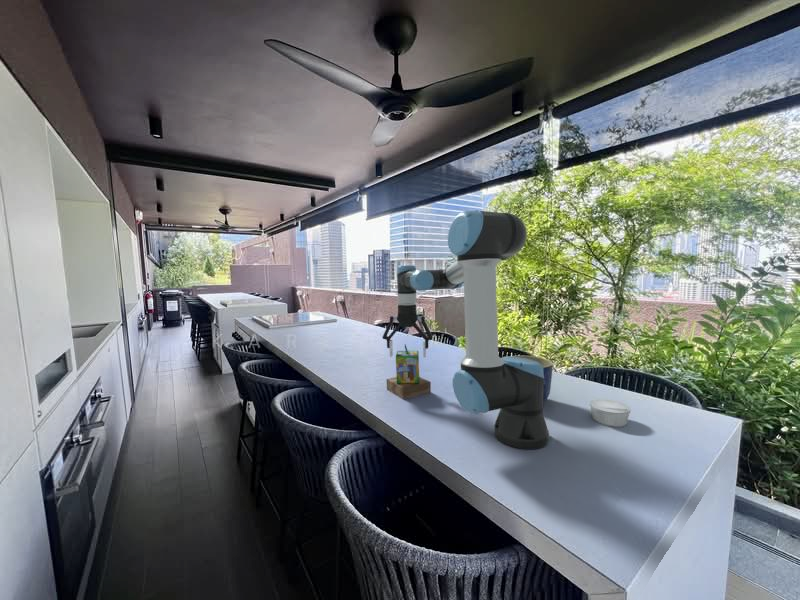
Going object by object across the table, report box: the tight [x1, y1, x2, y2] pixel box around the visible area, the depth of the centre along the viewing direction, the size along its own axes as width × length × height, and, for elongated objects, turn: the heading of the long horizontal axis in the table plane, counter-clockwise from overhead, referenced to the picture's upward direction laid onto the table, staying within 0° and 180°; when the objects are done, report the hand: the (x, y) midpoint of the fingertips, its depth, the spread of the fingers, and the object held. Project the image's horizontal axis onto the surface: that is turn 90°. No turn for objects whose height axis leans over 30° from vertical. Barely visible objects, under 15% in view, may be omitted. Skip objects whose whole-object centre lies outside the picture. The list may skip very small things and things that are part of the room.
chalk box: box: [395, 343, 420, 384], centre depth 139 cm, size 9×9×15 cm
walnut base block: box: [386, 376, 432, 400], centre depth 140 cm, size 13×13×5 cm
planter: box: [510, 355, 554, 403], centre depth 127 cm, size 17×17×15 cm
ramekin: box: [589, 398, 631, 428], centre depth 110 cm, size 11×11×5 cm
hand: (407, 356), depth 139 cm, fingers open, 13 cm apart
